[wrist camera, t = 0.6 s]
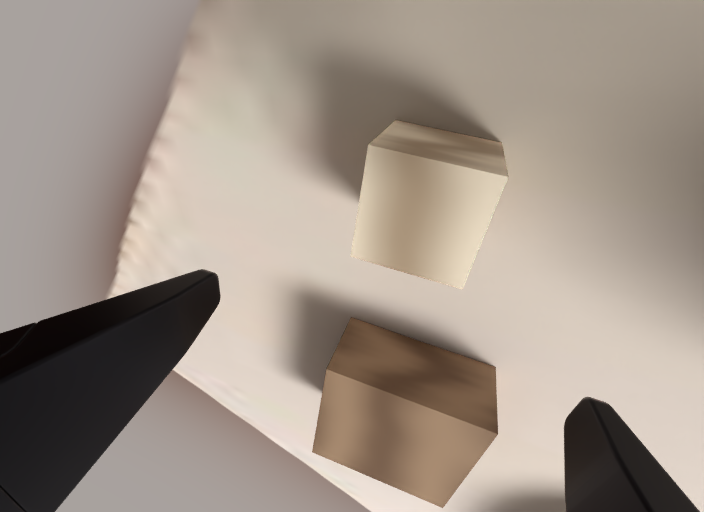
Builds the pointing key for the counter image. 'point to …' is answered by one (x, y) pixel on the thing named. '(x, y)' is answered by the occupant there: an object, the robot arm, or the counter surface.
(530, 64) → the counter surface
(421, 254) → the maple cube
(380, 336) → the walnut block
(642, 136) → the counter surface
